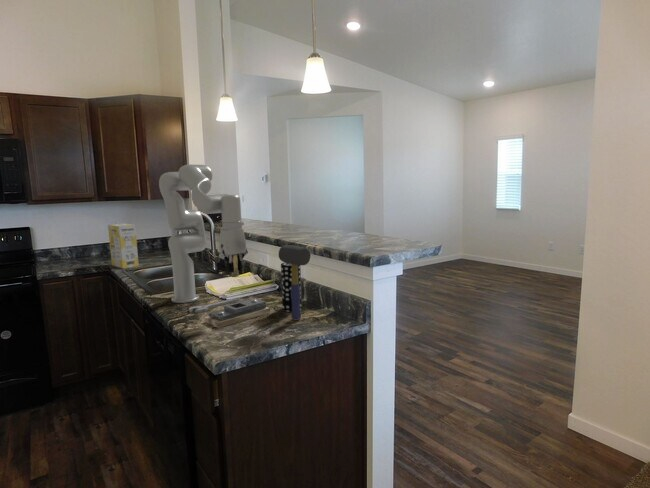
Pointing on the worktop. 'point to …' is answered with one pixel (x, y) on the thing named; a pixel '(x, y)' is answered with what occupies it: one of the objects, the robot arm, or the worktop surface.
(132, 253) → the pasta box
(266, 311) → the oak jig
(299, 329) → the worktop surface
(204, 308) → the adjustable wrench
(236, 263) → the brass pin
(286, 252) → the rubber mallet
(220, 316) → the pegged base plate
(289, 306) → the spotted tube
